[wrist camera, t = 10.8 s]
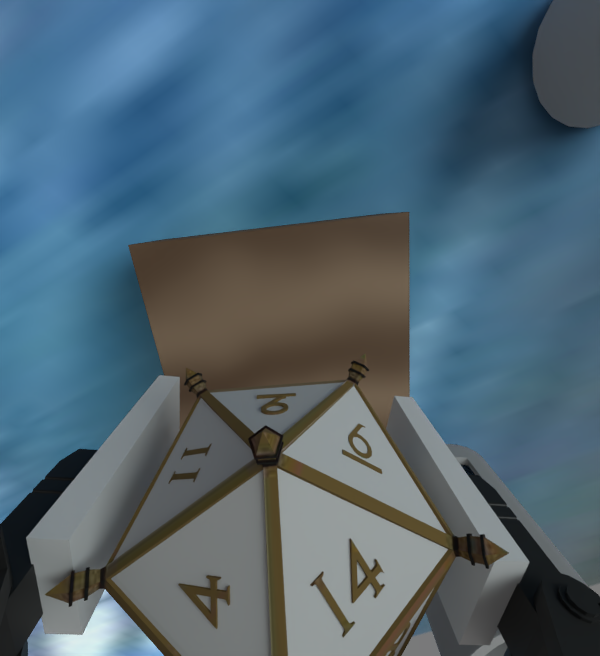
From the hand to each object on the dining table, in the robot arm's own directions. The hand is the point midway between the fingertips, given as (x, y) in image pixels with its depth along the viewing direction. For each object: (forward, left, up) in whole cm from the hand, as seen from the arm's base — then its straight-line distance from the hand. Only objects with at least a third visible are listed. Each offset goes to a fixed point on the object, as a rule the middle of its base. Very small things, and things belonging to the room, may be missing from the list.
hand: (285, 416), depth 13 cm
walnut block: (0, 0, -11) cm, 11 cm away
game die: (0, 0, -1) cm, 1 cm away
